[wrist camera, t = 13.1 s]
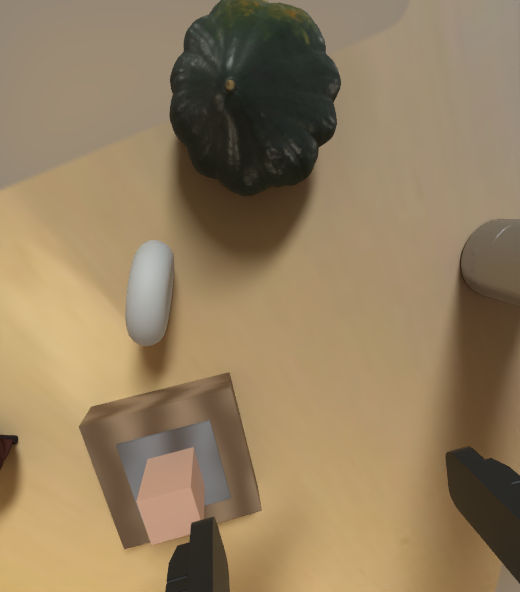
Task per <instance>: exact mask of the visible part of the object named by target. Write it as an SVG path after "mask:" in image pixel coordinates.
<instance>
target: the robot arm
mask: <svg viewBox="0 0 520 592" xmlns="http://www.w3.org/2000/svg"><path fill="white" fill-rule="evenodd" d="M461 269H462V275H463V277H464V279H465V282H466V283H467V284H468V286H469V287H470V288H471V289H472V290H474V291H475V292H477V293H479V294H481V295H484V296H487V297H491V298H494V299H497V300H501V301H504V302H507V303H510V304H514V305H517V306H520V219H498V220H493V221H490V222H488V223H486V224H484V225H482V226H481V227H480V228H478V229H477V230H476V231H475V232H474V233H473V234H472V235H471V237H470V238H469V240H468V241H467V243H466V245H465V247H464V250H463V253H462V258H461ZM446 466H447V476H448V486H449V492H450V495H451V498H452V500H453V502H454V504H455V506H456V507H457V509H458V510H459V511H460V512H461V514H462V515H463V516H464V517H465V518H466V520H467V521H468V522H469V523H470V524H471V526H472V527H473V528H474V529H475V530H476V532H477V533H478V534H479V535H480V536H481V538H482V539H483V540H484V541H485V542H486V544H487V545H488V546H489V547H490V548H491V550H492V551H493V552H494V553H495V554H496V556H497V557H498V558H499V559H500V560H501V562H502V563H503V564H504V565H505V566H506V568H507V569H508V570H509V571H510V572H511V574H512V575H513V576H514V577H515V578H516V580H517V581H518V582H519V583H520V476H519V475H518V474H517V473H516V472H515V471H514V470H512V469H511V468H510V467H509V466H507V465H505V464H503V463H500V462H498V461H496V460H494V459H492V458H489V459H486V460H485V459H484V458H483V457H482V456H480V455H479V454H478V453H477V452H476V451H475V450H474V449H473V448H471V447H464V448H460V449H457V450H453V451H449V452H447V453H446ZM165 592H230V589H229V571H228V564H227V558H226V553H225V550H224V546H223V543H222V539H221V536H220V533H219V529H218V526H217V522H216V519H215V517H214V516H213V517H210V518H206V519H203V520H199V521H195V522H192V523H191V530H190V542H189V543H186V544H182V545H179V546H177V548H176V550H175V552H174V554H173V556H172V558H171V560H170V562H169V567H168V575H167V584H166V591H165Z"/></svg>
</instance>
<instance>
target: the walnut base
mask: <svg viewBox="0 0 520 592" xmlns="http://www.w3.org/2000/svg"><path fill="white" fill-rule="evenodd" d="M79 428H80V431H81V434H82V436H83V439H84V442H85V445H86V447H87V450H88V453H89V455H90V458H91V461H92V463H93V466H94V469H95V472H96V474H97V477H98V480H99V482H100V485H101V488H102V490H103V493H104V496H105V499H106V501H107V504H108V507H109V509H110V512H111V515H112V517H113V520H114V523H115V526H116V528H117V531H118V534H119V536H120V539H121V542H122V544H123V547H124V549H127V548H130V547H134V546H138V545H141V544H145V543H148V542H150V540H149V537H148V534H147V531H146V528H145V525H144V522H143V519H142V517H141V514H140V511H139V508H138V505H137V502H136V501H137V497H138V494H139V490H140V486H141V482H142V478H143V475H144V471H145V467H146V463H147V459H150V458H154V457H158V456H162V455H166V454H169V453H173V452H177V451H181V450H184V449H188V448H192V447H194V450H195V453H196V457H197V460H198V464H199V467H200V470H201V474H202V477H203V481H204V484H205V500H204V519H206V518H210V517H213V516H214V517H215V519H216V522H217V523H220V522H223V521H227V520H230V519H234V518H237V517H241V516H245V515H248V514H252V513H255V512H259V511H262V509H261V503H260V498H259V492H258V486H257V482H256V478H255V474H254V470H253V466H252V462H251V458H250V454H249V450H248V446H247V441H246V437H245V433H244V429H243V425H242V421H241V417H240V413H239V409H238V405H237V401H236V397H235V393H234V389H233V385H232V381H231V377H230V373H225V374H221V375H217V376H213V377H209V378H205V379H201V380H197V381H193V382H189V383H185V384H181V385H177V386H173V387H169V388H165V389H161V390H157V391H153V392H149V393H145V394H141V395H137V396H133V397H129V398H125V399H121V400H117V401H113V402H109V403H105V404H101V405H97V406H93V407H91V408H90V410H89V411H88V413H87V414H86V416H85V418H84V419H83V421H82V422H81V424H80V426H79Z"/></svg>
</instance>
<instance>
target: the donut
mask: <svg viewBox="0 0 520 592" xmlns="http://www.w3.org/2000/svg"><path fill="white" fill-rule="evenodd" d="M173 280H174V255H173V252H172V250H171V249H170V248H169V246H168V245H166V244H165V243H163V242H161V241H157V240H150V241H147V242H145V243H144V244H142V245H141V246H140V247H139V249H138V250H137V252H136V253H135V256H134V258H133V261H132V265H131V269H130V274H129V280H128V286H127V296H126V312H125V315H126V327H127V331H128V334H129V336H130V337H131V338H132V340H133V341H134V342H136V343H138V344H139V345H143V346H151V345H154V344H156V343H158V342H159V341H160V340H161V339H162V338H163V336H164V334H165V332H166V328H167V324H168V319H169V314H170V307H171V299H172V290H173Z"/></svg>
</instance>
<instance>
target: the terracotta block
mask: <svg viewBox="0 0 520 592" xmlns="http://www.w3.org/2000/svg"><path fill="white" fill-rule="evenodd" d="M204 500H205V484H204V481H203V477H202V474H201V470H200V467H199V464H198V460H197V457H196V453H195V450H194V447H192V448H188V449H184V450H181V451H177V452H173V453H169V454H166V455H162V456H158V457H154V458H150V459H147V463H146V467H145V471H144V475H143V478H142V482H141V486H140V490H139V494H138V497H137V501H136V502H137V505H138V508H139V511H140V514H141V517H142V519H143V522H144V525H145V528H146V531H147V534H148V537H149V540H150V542H151V545H154V544H158V543H161V542H165V541H168V540H172V539H176V538H179V537H183V536H186V535H190V530H191V523H192V522H195V521H199V520H203V519H204Z"/></svg>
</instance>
